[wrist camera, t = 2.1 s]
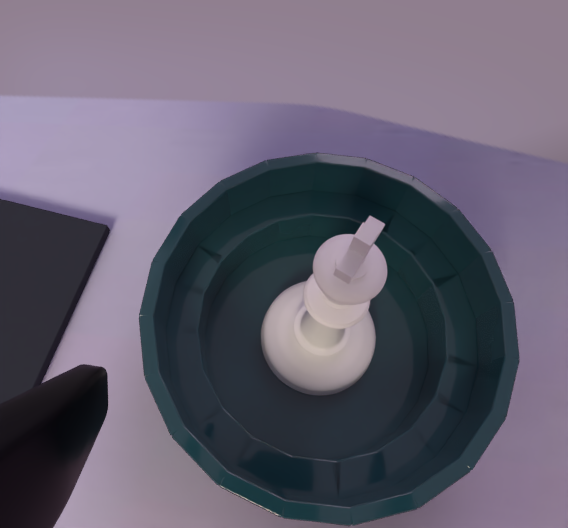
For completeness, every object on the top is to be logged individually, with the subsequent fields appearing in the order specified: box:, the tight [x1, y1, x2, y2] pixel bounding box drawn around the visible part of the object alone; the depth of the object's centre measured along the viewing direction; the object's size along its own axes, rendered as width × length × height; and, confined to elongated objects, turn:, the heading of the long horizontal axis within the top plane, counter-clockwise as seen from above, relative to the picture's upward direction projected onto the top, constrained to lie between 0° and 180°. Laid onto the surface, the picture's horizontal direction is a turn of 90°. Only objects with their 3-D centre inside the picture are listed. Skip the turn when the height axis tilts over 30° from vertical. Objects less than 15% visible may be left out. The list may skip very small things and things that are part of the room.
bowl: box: [139, 153, 519, 526], centre depth 18 cm, size 13×13×4 cm
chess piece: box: [261, 216, 387, 396], centre depth 15 cm, size 5×5×10 cm
